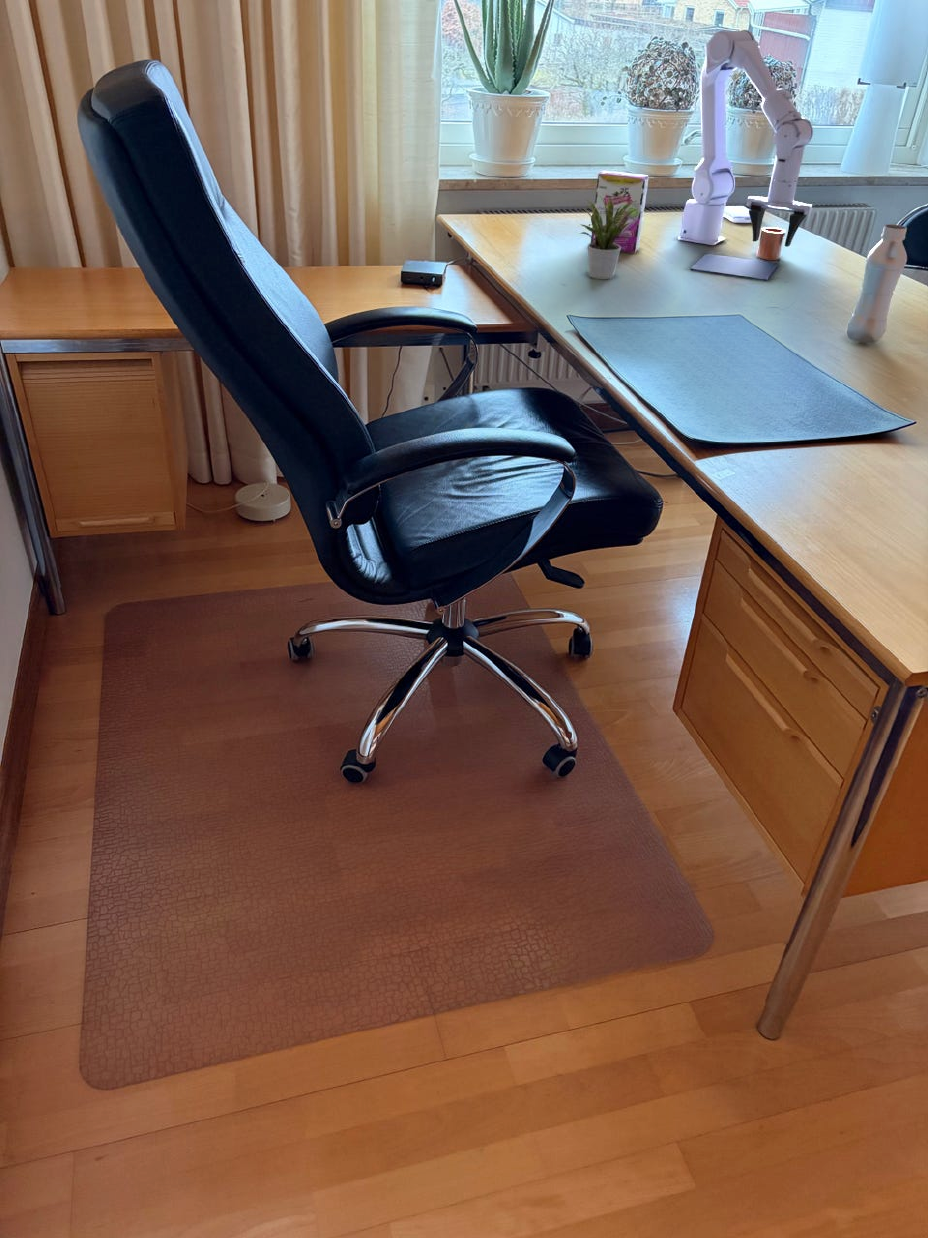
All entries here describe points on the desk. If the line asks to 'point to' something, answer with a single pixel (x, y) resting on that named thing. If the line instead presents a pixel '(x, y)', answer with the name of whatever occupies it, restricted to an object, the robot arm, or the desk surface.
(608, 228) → the house plant
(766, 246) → the cup
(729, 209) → the hard drive
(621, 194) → the candy bar box
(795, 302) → the desk surface
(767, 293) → the desk surface
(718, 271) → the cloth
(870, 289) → the plastic bottle
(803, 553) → the desk surface
